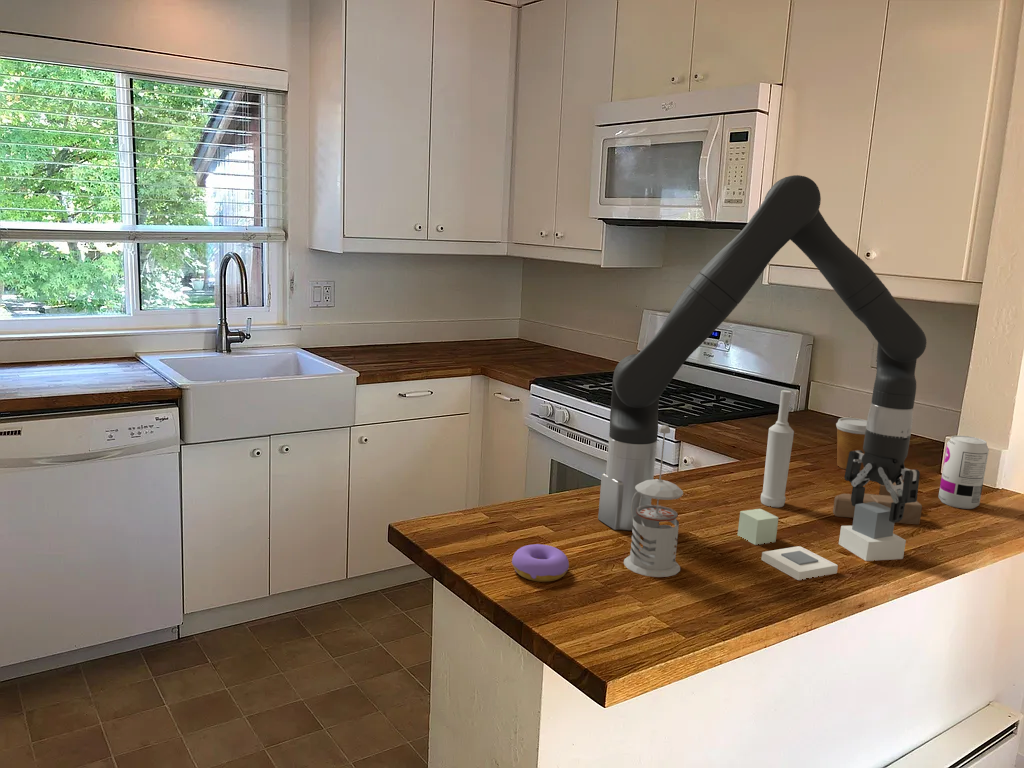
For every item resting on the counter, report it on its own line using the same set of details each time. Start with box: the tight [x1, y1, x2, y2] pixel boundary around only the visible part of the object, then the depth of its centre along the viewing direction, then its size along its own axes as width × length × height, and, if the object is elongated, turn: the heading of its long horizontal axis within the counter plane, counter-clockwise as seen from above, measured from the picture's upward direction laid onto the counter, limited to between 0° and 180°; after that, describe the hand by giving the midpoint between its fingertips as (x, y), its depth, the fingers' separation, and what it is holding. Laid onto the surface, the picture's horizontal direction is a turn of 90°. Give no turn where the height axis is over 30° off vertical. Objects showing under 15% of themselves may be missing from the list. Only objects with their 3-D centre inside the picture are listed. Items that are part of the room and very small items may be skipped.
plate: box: [761, 545, 839, 581], centre depth 147 cm, size 9×9×2 cm
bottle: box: [760, 389, 795, 508], centre depth 178 cm, size 5×5×25 cm
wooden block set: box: [832, 483, 923, 525], centre depth 181 cm, size 17×6×18 cm
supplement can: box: [937, 435, 990, 510], centre depth 186 cm, size 8×8×15 cm
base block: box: [838, 525, 907, 562], centre depth 156 cm, size 8×8×4 cm
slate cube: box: [851, 502, 895, 539], centre depth 155 cm, size 5×5×5 cm
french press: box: [623, 424, 684, 578], centre depth 142 cm, size 10×12×25 cm
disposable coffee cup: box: [835, 417, 867, 471], centre depth 211 cm, size 10×10×12 cm
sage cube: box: [737, 508, 779, 546], centre depth 159 cm, size 5×5×5 cm
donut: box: [511, 543, 570, 583], centre depth 138 cm, size 10×9×5 cm
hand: (875, 513), depth 154 cm, fingers open, 8 cm apart
